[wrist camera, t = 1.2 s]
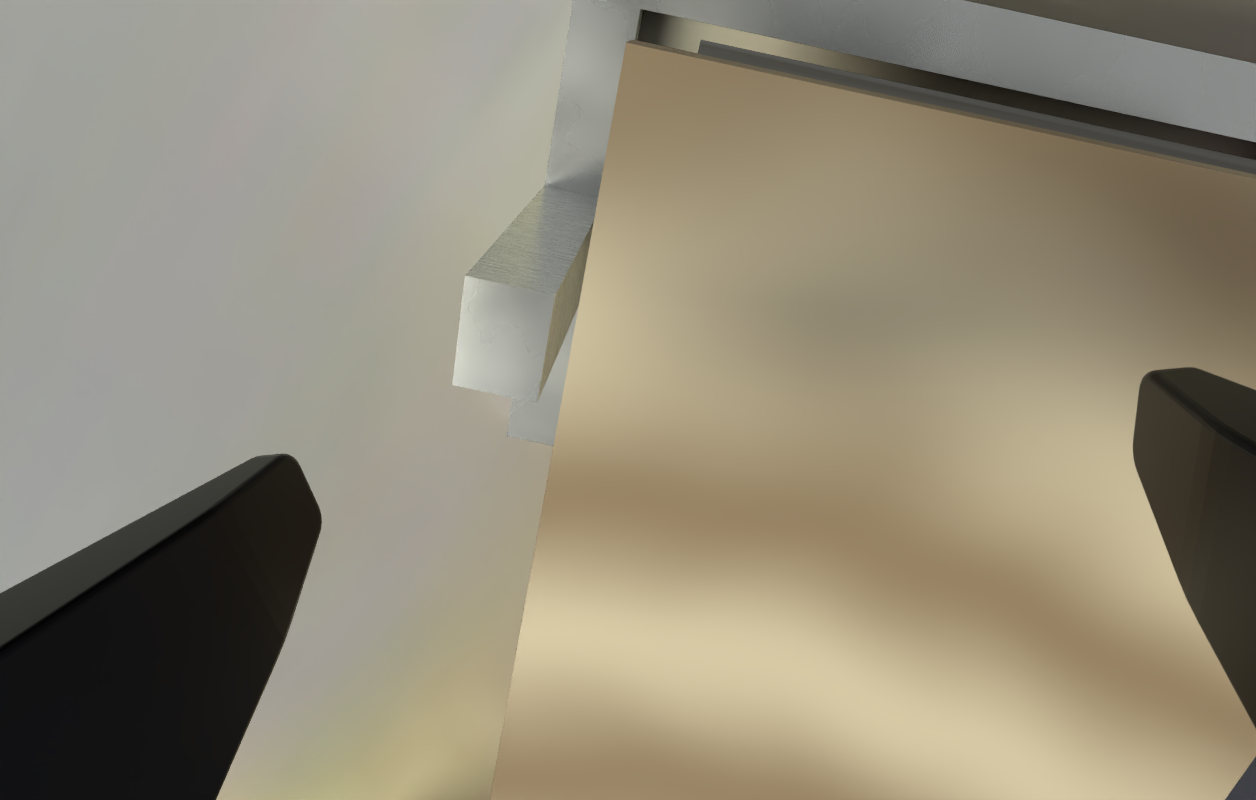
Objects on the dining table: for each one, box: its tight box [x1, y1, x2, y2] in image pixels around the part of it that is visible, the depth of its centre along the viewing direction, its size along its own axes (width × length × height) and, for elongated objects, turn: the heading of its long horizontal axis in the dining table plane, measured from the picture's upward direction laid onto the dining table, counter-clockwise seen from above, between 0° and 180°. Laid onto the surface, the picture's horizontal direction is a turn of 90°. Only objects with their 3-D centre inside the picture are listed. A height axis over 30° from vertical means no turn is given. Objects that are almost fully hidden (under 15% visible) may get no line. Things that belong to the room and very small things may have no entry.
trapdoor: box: [490, 40, 1256, 800], centre depth 18 cm, size 16×14×6 cm
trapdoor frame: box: [452, 0, 1256, 446], centre depth 18 cm, size 13×18×8 cm
